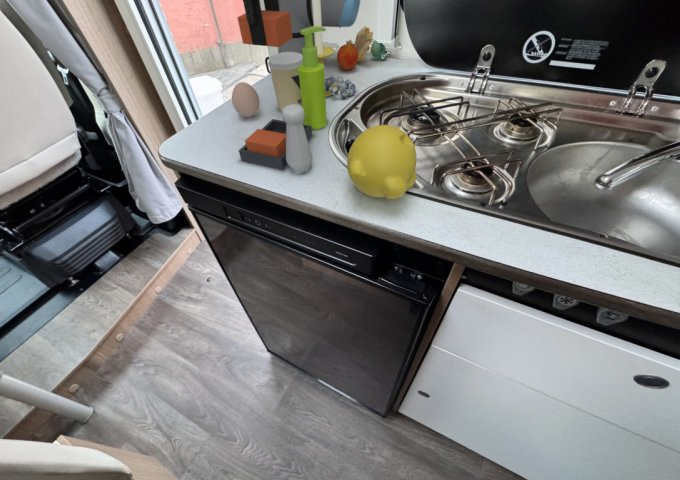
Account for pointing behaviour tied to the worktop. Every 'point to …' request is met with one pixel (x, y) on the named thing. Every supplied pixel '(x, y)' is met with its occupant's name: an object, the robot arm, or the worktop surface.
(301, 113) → the salt shaker
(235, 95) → the egg
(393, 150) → the sculpture
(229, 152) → the worktop surface
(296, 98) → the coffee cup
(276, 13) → the loose pad
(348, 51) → the fruit
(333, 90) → the bracelet
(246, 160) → the pad frame
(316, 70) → the soap dispenser
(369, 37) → the cartoon bug character
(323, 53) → the yellow disc white stick
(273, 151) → the seated pad
